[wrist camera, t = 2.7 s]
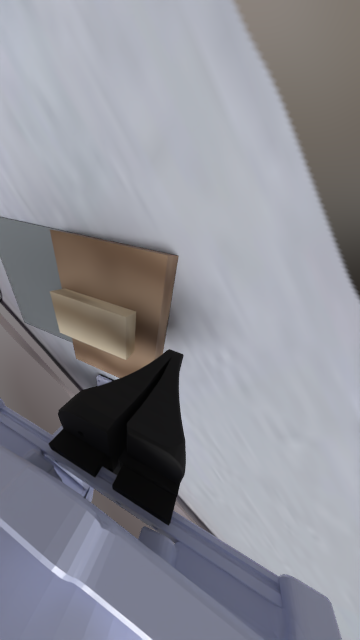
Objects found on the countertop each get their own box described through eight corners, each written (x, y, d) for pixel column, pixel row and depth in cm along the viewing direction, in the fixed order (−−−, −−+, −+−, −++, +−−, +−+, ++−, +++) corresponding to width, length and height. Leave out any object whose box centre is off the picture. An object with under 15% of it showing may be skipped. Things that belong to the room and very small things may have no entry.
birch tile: (134, 351, 16) (125, 360, 14) (72, 327, 18) (60, 332, 16) (136, 311, 14) (126, 317, 12) (64, 288, 15) (49, 291, 14)
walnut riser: (158, 377, 20) (150, 391, 18) (91, 348, 22) (76, 358, 20) (178, 255, 13) (167, 255, 11) (75, 233, 15) (49, 229, 13)
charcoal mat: (88, 347, 22) (86, 348, 22) (26, 321, 25) (24, 322, 25) (71, 232, 15) (69, 232, 15) (-13, 214, 18) (-16, 213, 18)
